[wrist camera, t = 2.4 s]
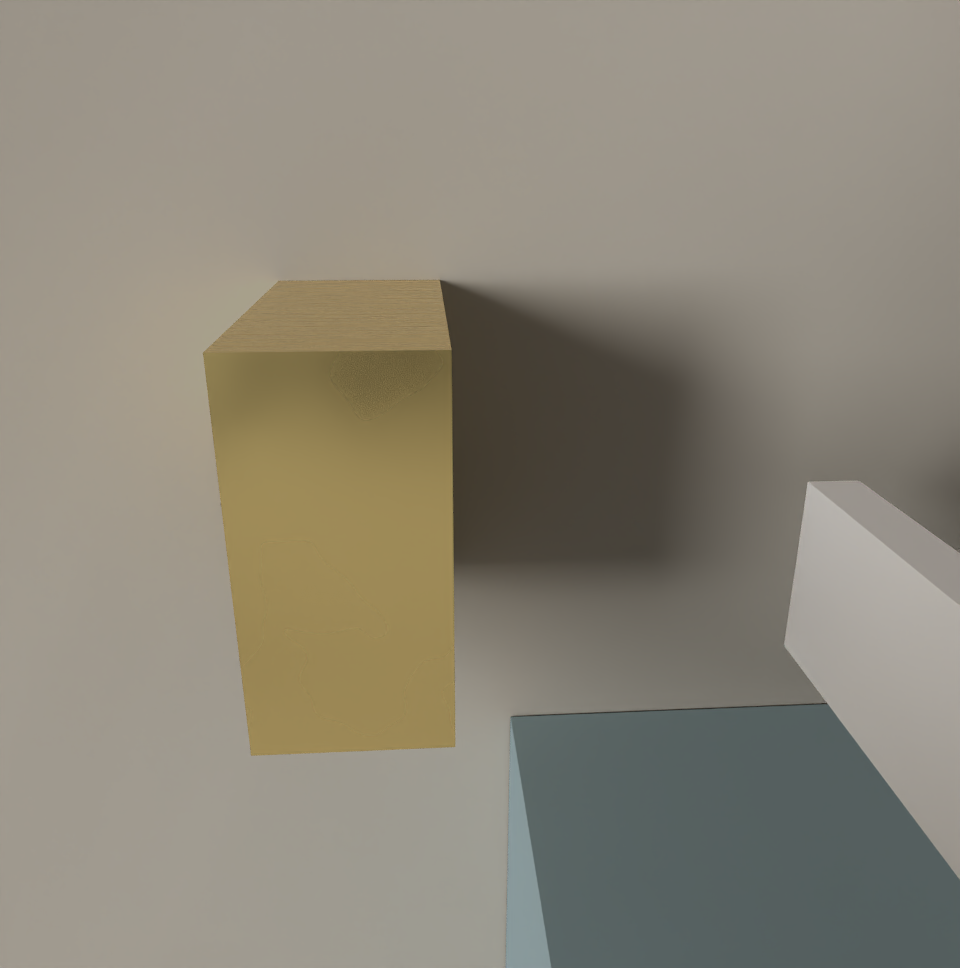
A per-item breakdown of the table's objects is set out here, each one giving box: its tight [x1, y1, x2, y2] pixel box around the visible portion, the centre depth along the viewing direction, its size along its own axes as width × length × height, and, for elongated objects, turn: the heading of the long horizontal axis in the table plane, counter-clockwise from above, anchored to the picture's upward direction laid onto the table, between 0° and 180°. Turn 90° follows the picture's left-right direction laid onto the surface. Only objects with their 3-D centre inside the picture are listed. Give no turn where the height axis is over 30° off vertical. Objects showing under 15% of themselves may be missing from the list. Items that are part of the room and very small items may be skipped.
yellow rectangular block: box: [203, 280, 455, 756], centre depth 14 cm, size 6×3×6 cm, turn 0°
